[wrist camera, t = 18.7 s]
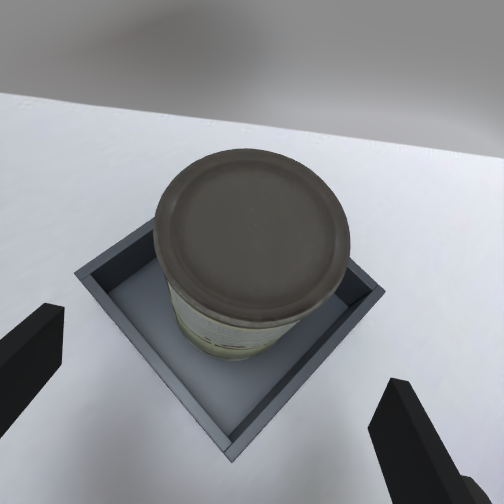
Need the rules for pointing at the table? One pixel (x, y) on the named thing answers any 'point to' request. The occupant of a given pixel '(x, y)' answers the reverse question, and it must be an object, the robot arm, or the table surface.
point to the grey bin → (207, 368)
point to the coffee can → (248, 249)
